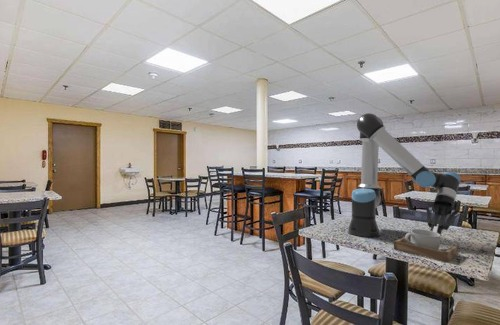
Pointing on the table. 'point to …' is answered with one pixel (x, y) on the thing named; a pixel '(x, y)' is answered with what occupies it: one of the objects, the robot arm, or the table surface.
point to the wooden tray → (426, 250)
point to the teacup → (424, 238)
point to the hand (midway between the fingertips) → (433, 240)
